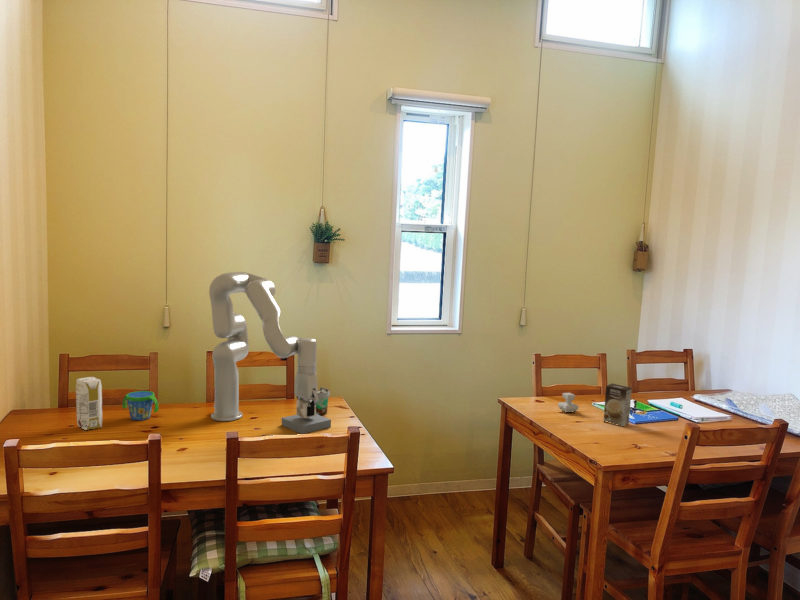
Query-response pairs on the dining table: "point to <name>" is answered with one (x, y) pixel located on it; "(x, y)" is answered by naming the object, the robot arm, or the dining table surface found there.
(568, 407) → the stamp
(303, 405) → the block
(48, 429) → the dining table surface
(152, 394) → the snack cup
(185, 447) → the dining table surface
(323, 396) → the food container
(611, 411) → the coffee box
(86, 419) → the juice carton
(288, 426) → the stand
